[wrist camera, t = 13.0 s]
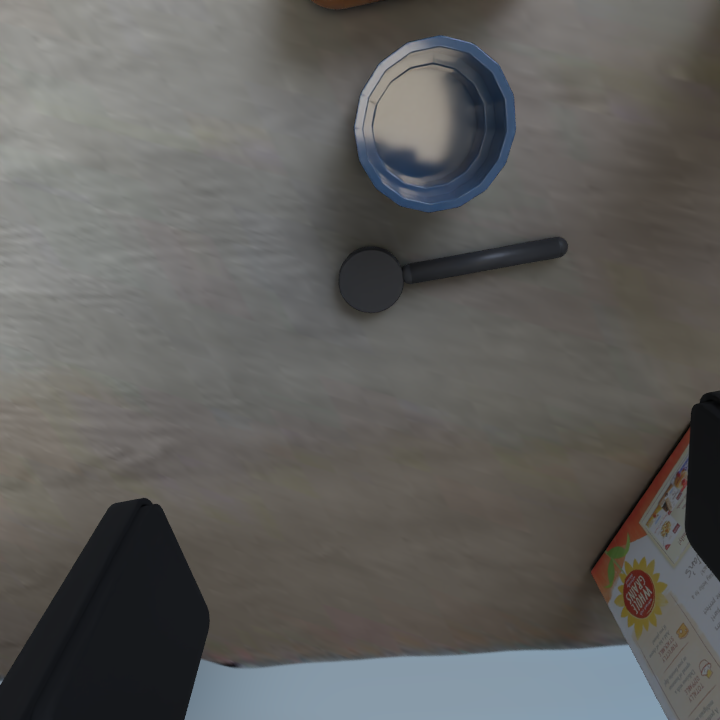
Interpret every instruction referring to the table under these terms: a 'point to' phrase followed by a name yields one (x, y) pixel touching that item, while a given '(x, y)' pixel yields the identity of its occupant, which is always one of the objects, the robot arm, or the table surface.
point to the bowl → (435, 124)
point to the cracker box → (666, 597)
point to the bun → (342, 3)
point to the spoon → (427, 270)
